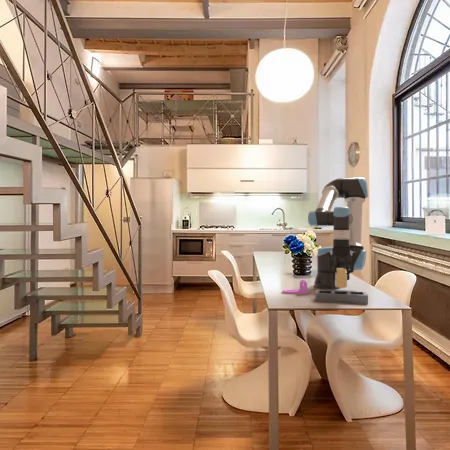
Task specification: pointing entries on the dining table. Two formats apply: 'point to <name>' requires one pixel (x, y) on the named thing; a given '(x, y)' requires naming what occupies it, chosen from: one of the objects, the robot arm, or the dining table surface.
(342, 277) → the brass block
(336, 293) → the dark grey tray
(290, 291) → the bracket
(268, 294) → the dining table surface
